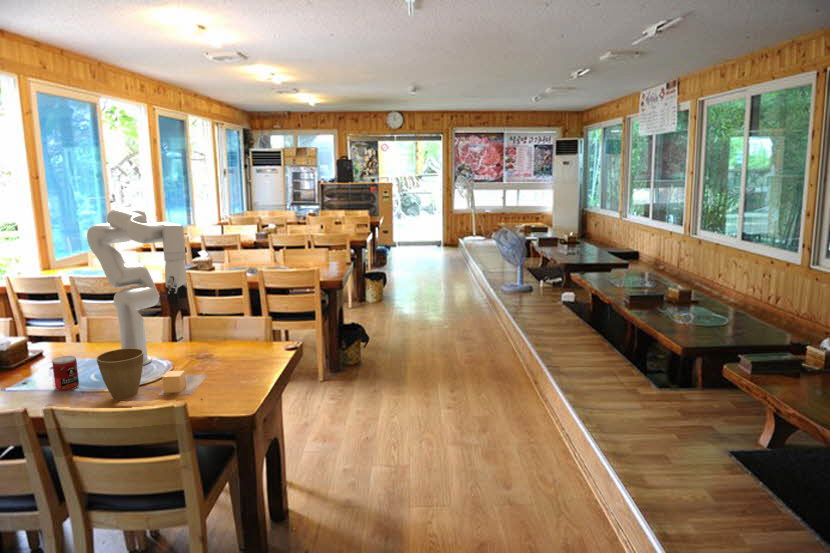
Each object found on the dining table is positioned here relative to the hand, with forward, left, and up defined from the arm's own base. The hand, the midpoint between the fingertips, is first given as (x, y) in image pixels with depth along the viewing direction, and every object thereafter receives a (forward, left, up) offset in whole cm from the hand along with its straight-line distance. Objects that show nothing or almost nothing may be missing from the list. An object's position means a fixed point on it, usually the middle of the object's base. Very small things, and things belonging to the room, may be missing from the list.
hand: (178, 300), depth 226 cm
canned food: (-40, -9, -31) cm, 51 cm away
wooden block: (+2, -18, -29) cm, 34 cm away
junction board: (+4, -13, -30) cm, 33 cm away
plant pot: (-14, -21, -31) cm, 40 cm away
